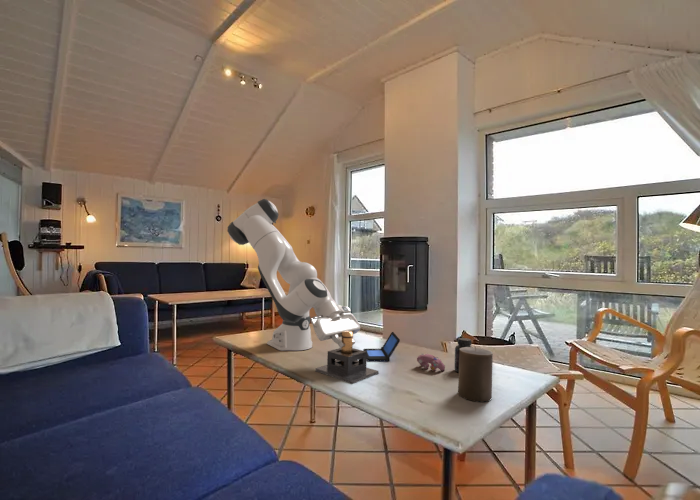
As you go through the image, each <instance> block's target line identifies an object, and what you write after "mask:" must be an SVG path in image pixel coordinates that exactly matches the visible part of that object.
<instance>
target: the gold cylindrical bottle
mask: <svg viewBox="0 0 700 500" xmlns="http://www.w3.org/2000/svg"><path fill="white" fill-rule="evenodd" d="M340 338H341V341H344V343H345V346H344V347H342V348H341V353H343V354H347V355H349V354H352V348H353V346H354V345H353V339H354V334H353V332H352V331H342V335H341V337H340ZM341 364H342V365H344V362H343V361H341Z"/></svg>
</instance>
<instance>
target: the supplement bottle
mask: <svg viewBox="0 0 700 500" xmlns="http://www.w3.org/2000/svg"><path fill="white" fill-rule="evenodd" d="M463 347H472V339H471V338H468V337H467V338H466V337H459V338H457V344H456V345H455V346H454V367H453V368H454V369H453V370H454V371H455V372H456V373H458V374H459V352H460V348H463Z"/></svg>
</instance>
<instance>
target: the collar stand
mask: <svg viewBox="0 0 700 500" xmlns="http://www.w3.org/2000/svg"><path fill="white" fill-rule="evenodd" d="M326 360H327V364H324V365H321V366H318V367H315V372H317V373H320V374H323V375H326V376H328V377H332V378H335V379H338V380H341V381H343V382H346V383H350V384H351V385H352V384H357V383H358V382H361V381H363V380H366V379H369V378H371V377H373V376H377V375H379V370H376V369H373V368H369V367H367V362H368V361H367V352H366V351H363V349H362V350H361V349H357V348H353V347H352V354H349V355H347V354H343V353H341V348H340V347H339V348H336V349H335V348H334V349H332V350H328V351H327V358H326ZM341 361H343V362H344V365H342V364H341Z"/></svg>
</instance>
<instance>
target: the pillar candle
mask: <svg viewBox="0 0 700 500" xmlns="http://www.w3.org/2000/svg"><path fill="white" fill-rule="evenodd" d="M493 354H494V353H493V352H492V350H489V349H485V348H480V347H476V346H473V347H472V346H471V347H463V348H460V352H459V373H458V381H457V382H458V384H457V385H458V386H457V393H458V395H459V396H460V397H461V398H463V399H466V400H469V401H472V402H476V401H481V402H480V403H483V402H482V401H487V402H489V401H488V400H490V399H491V398H492V397H493V395H492V394H493V357H494V355H493ZM491 400H492V399H491ZM491 400H490V401H491Z"/></svg>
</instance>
